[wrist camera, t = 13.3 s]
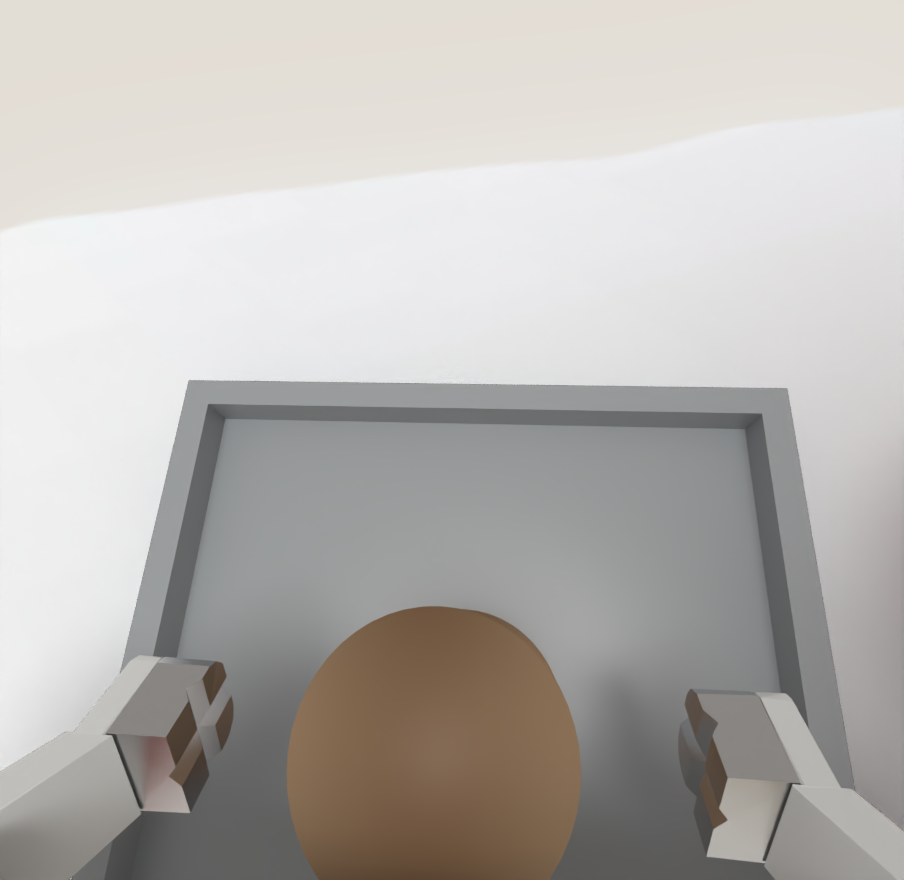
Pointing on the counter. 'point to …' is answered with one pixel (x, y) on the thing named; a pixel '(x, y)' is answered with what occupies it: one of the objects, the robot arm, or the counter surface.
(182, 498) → the grey tray
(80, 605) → the counter surface
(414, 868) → the walnut pestle
